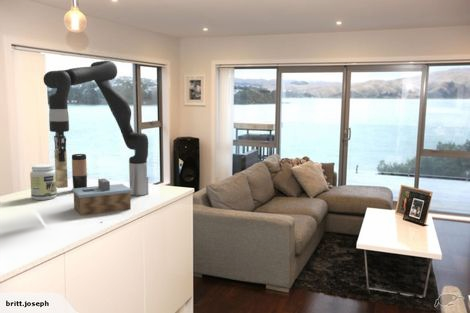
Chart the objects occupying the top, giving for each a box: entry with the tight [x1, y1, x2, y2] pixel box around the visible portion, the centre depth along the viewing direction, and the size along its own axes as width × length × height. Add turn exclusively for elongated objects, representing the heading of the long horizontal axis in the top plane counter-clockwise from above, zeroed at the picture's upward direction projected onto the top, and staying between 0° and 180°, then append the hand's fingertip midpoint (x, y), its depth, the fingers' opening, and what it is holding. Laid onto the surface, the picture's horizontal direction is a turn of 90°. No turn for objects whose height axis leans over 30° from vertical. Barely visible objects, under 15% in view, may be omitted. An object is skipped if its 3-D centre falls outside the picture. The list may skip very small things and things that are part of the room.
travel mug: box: [71, 153, 88, 189], centre depth 236 cm, size 8×8×20 cm
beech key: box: [54, 148, 69, 189], centre depth 179 cm, size 4×4×16 cm
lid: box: [71, 178, 132, 198], centre depth 194 cm, size 23×15×5 cm, turn 122°
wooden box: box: [73, 192, 132, 216], centre depth 195 cm, size 22×14×9 cm, turn 122°
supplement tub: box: [29, 163, 58, 201], centre depth 218 cm, size 12×12×17 cm
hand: (60, 160), depth 178 cm, fingers closed on beech key, 4 cm apart
